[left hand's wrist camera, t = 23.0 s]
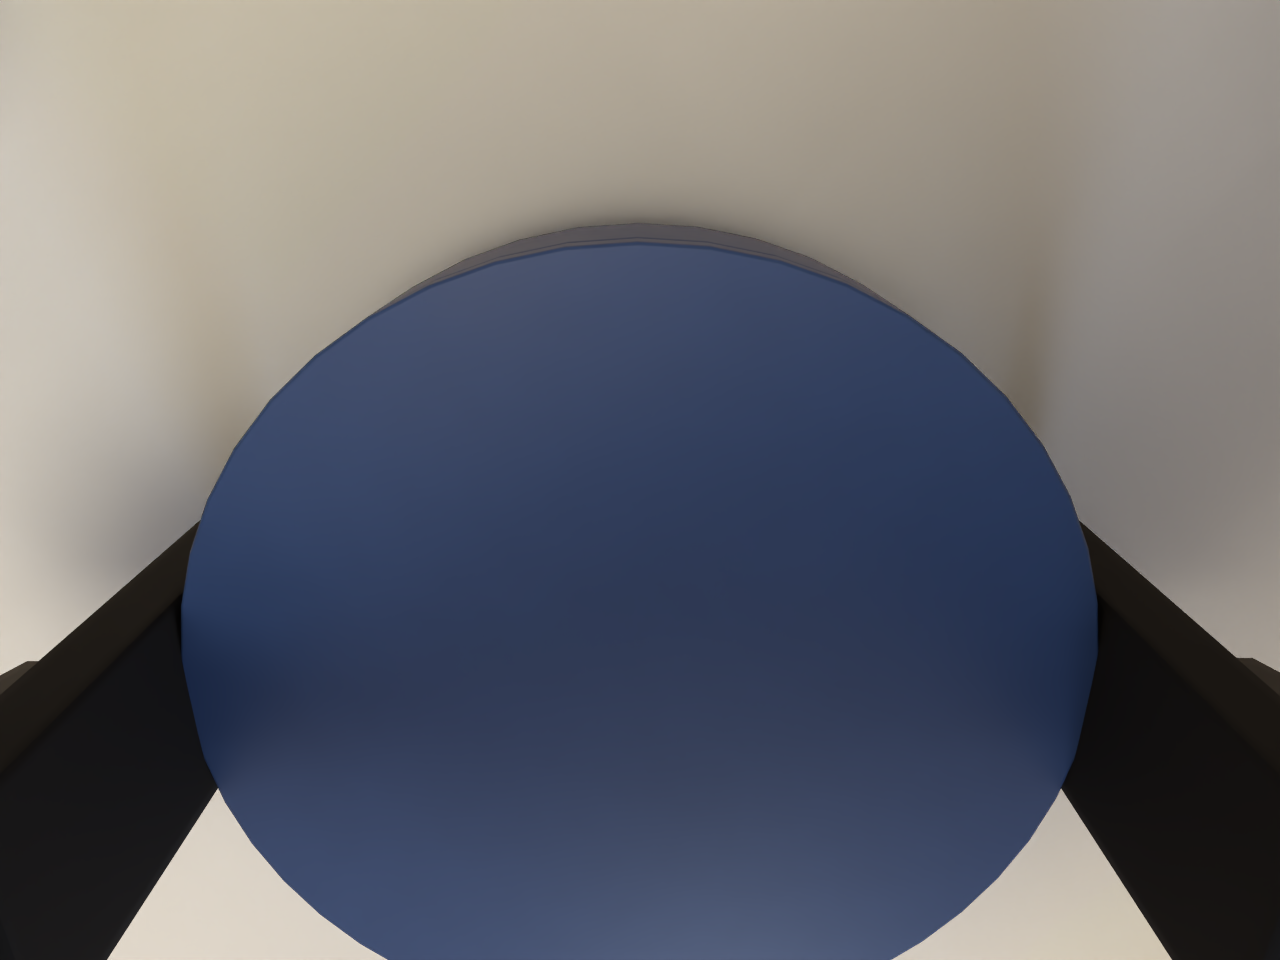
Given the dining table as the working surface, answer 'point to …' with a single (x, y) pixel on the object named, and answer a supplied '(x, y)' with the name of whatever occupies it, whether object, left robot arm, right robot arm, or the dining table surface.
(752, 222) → the dining table surface
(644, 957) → the lid
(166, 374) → the dining table surface
